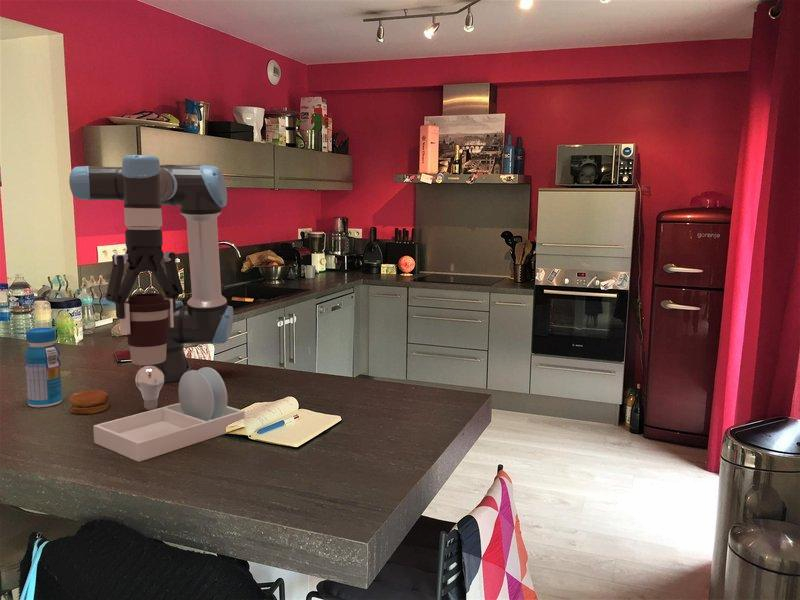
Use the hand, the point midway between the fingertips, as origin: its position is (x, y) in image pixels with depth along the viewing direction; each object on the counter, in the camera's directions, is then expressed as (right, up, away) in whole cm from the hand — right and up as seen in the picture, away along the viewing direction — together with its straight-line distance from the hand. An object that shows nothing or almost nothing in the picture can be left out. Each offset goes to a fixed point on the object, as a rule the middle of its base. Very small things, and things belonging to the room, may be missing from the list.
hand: (147, 329), depth 144 cm
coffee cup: (0, -7, +1) cm, 7 cm away
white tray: (+3, -25, +8) cm, 26 cm away
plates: (+8, -23, +14) cm, 28 cm away
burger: (-25, -22, +25) cm, 42 cm away
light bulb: (-9, -22, +25) cm, 34 cm away
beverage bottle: (-39, -21, +30) cm, 53 cm away
